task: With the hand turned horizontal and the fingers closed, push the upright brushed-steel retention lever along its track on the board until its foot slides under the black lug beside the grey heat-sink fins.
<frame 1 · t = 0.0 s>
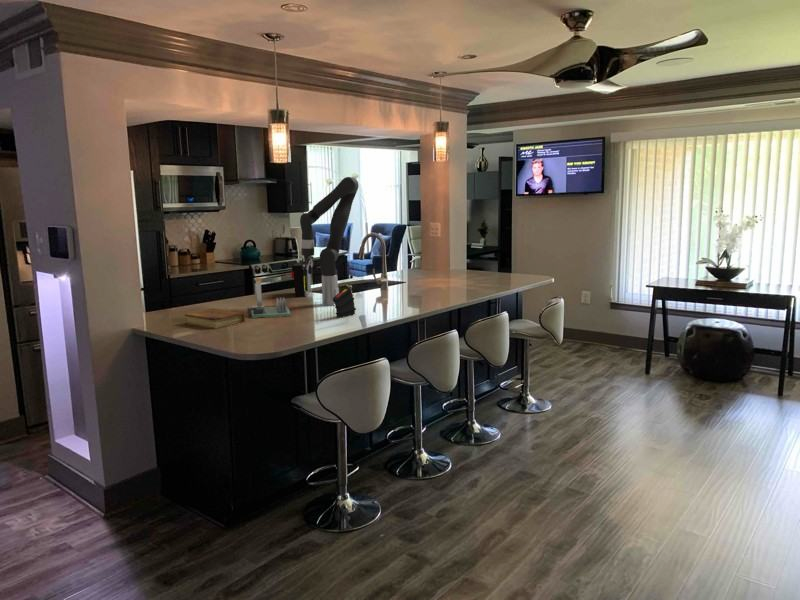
hand: (307, 274, 355), 17 cm above the worktop, tool pointing down, fingers open, 8 cm apart
electrical component: (302, 295, 390), on the worktop
heatsink: (270, 313, 330), resting on board
diary: (215, 324, 306), on the worktop
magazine: (344, 316, 321), on the worktop
clip lever: (257, 293, 332), point 10 cm above the worktop, slide at 0.0 cm
board: (270, 313, 330), on the worktop
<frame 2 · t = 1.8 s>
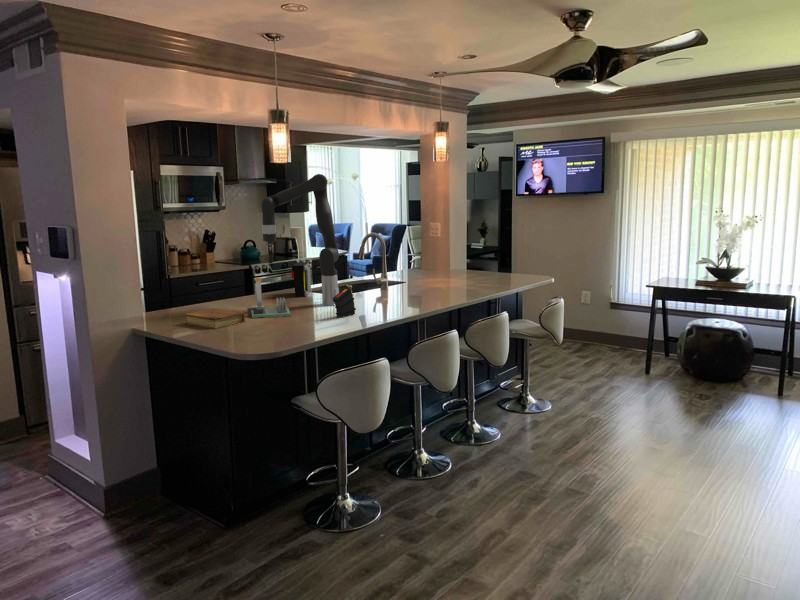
hand: (270, 263, 348), 25 cm above the worktop, tool pointing down, fingers closed
nothing on the worktop moved.
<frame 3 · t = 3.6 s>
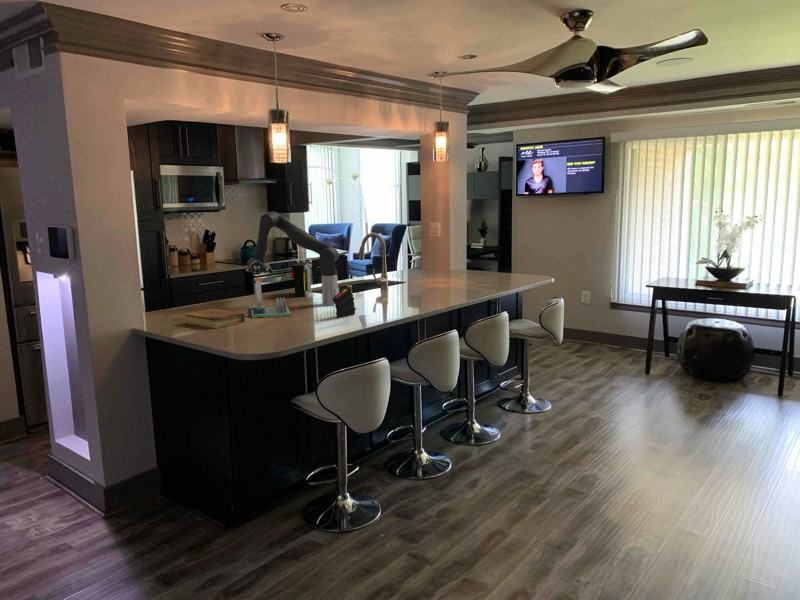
hand: (257, 271, 340), 21 cm above the worktop, tool horizontal, fingers closed
nothing on the worktop moved.
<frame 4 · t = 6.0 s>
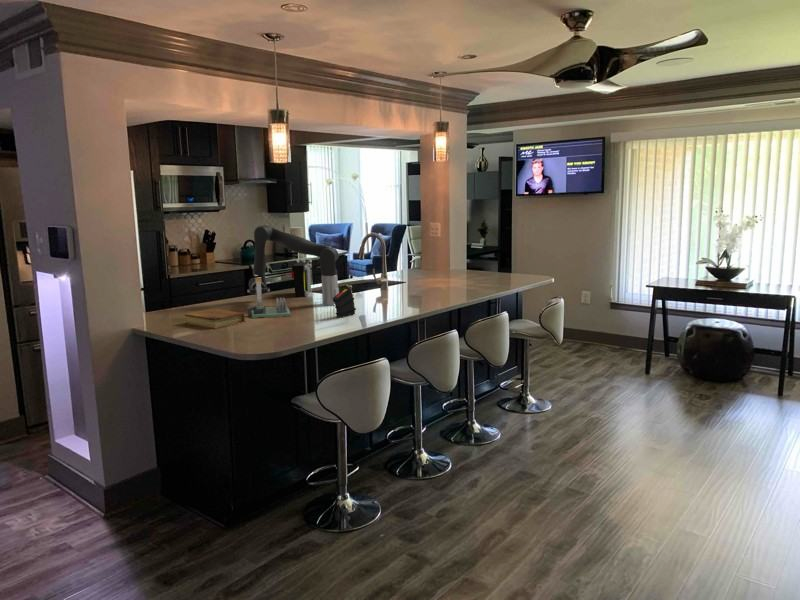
hand: (258, 292, 333), 10 cm above the worktop, tool horizontal, fingers closed
clip lever: (257, 293, 332), point 10 cm above the worktop, slide at 0.1 cm, touching gripper
everything else where it was.
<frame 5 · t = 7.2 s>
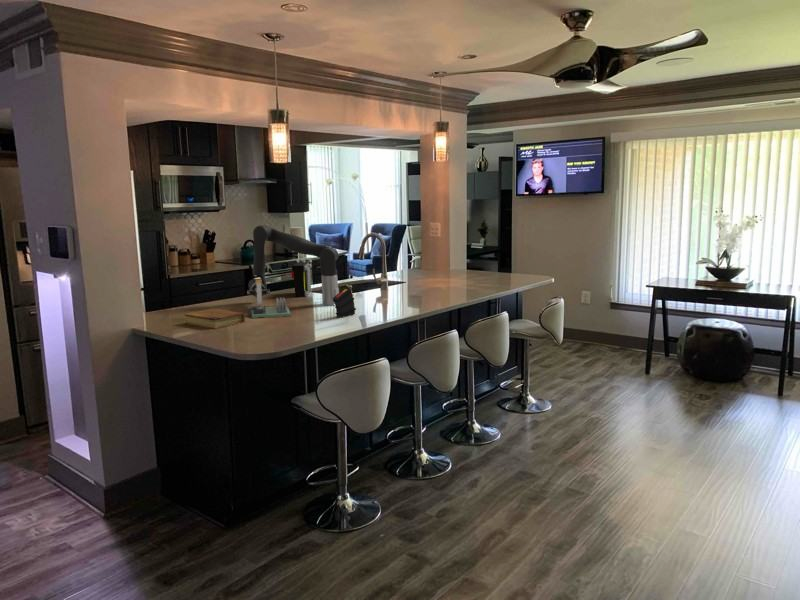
hand: (258, 294, 329), 10 cm above the worktop, tool horizontal, fingers closed
clip lever: (257, 295, 328), point 10 cm above the worktop, slide at 4.6 cm, touching gripper
everything else where it was.
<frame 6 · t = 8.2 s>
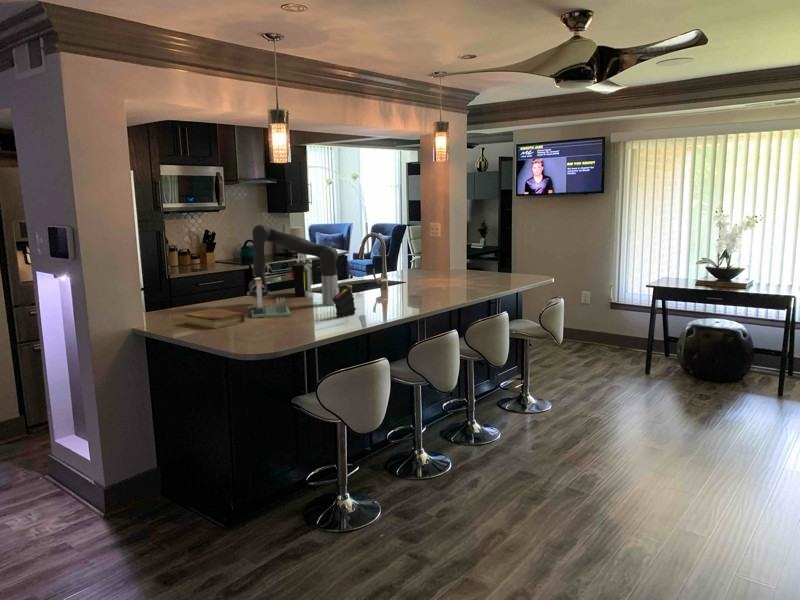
hand: (258, 295, 325), 10 cm above the worktop, tool horizontal, fingers closed
clip lever: (257, 296, 323), point 10 cm above the worktop, slide at 9.1 cm, touching gripper
everything else where it was.
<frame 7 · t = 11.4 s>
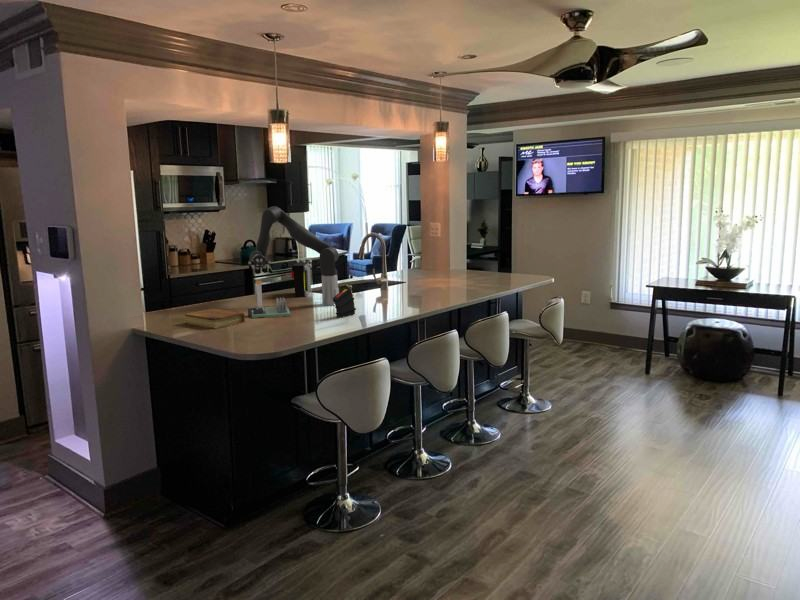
hand: (259, 263, 340), 25 cm above the worktop, tool horizontal, fingers closed
clip lever: (257, 296, 323), point 10 cm above the worktop, slide at 9.0 cm
everything else where it was.
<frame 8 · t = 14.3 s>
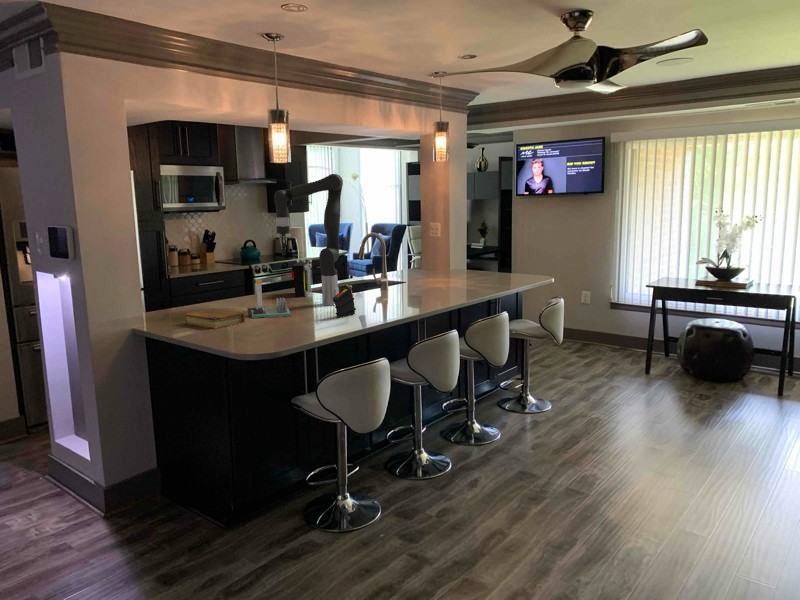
hand: (284, 255, 352), 29 cm above the worktop, tool pointing down, fingers closed
nothing on the worktop moved.
at the end: clip lever slide at 9.0 cm; the gripper is holding nothing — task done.
